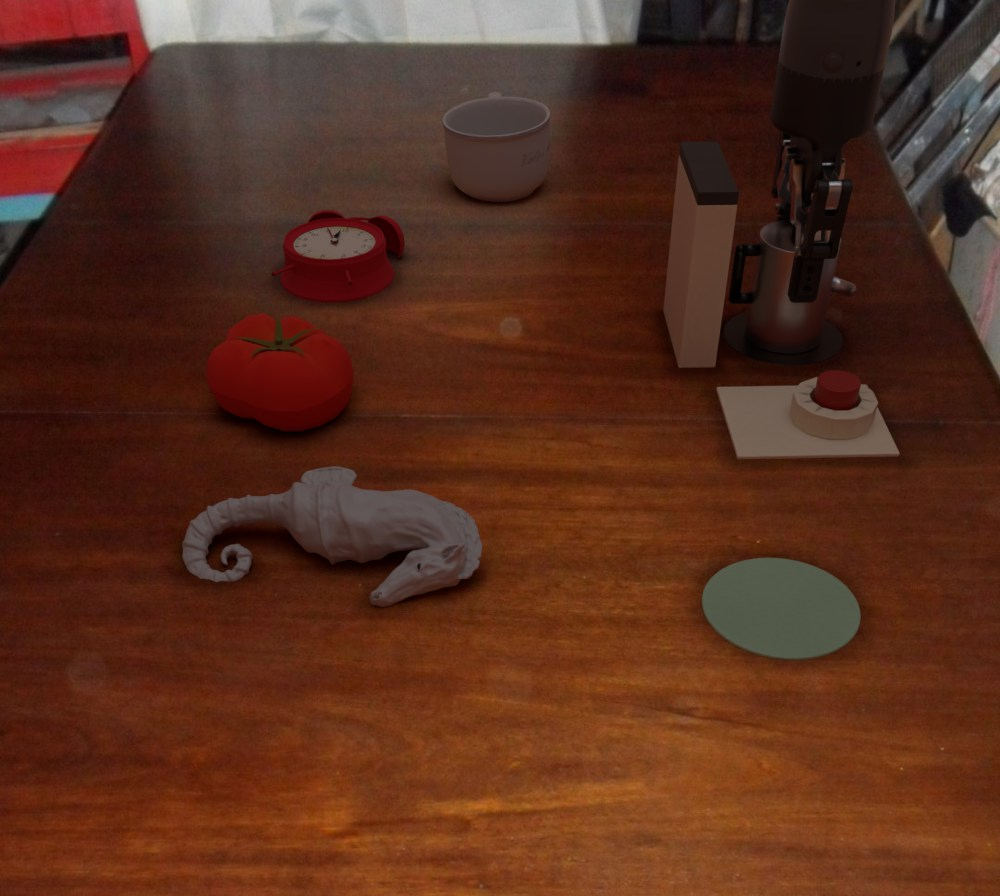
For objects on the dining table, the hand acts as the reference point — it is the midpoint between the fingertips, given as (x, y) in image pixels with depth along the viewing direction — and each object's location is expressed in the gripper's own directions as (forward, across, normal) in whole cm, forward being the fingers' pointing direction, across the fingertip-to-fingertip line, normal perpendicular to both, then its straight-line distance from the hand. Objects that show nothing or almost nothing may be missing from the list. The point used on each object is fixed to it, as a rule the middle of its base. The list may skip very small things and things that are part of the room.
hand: (792, 280), depth 97 cm
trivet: (+6, -35, +7) cm, 36 cm away
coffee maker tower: (+6, 0, +8) cm, 10 cm away
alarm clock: (+6, +15, +38) cm, 41 cm away
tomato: (+6, -9, +41) cm, 42 cm away
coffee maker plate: (+6, 0, 0) cm, 6 cm away
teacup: (+6, +35, +23) cm, 42 cm away
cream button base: (+6, -14, +1) cm, 15 cm away
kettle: (+5, 0, 0) cm, 5 cm away
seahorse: (+6, -29, +36) cm, 47 cm away
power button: (+3, -14, -1) cm, 14 cm away
